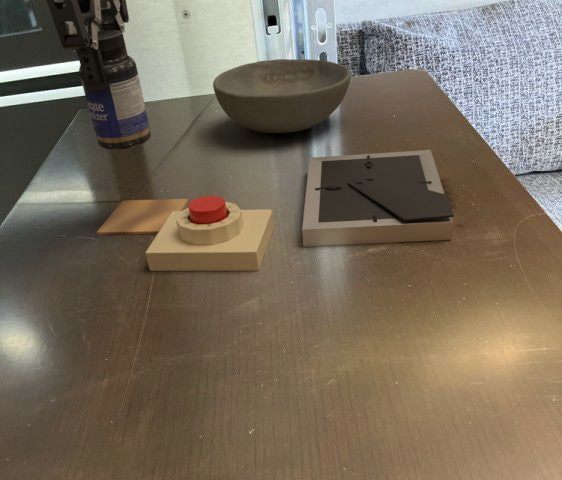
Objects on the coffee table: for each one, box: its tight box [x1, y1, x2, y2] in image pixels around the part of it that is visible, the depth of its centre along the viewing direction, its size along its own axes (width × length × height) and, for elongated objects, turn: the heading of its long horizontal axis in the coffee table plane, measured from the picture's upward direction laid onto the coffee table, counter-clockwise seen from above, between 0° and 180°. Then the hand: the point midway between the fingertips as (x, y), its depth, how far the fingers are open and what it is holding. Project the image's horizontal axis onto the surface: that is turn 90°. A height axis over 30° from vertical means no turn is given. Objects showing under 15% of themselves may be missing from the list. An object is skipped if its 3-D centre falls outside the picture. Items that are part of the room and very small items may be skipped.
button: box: [187, 195, 228, 225], centre depth 67 cm, size 4×4×2 cm
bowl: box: [212, 58, 352, 134], centre depth 97 cm, size 21×21×8 cm
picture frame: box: [301, 149, 455, 248], centre depth 74 cm, size 16×3×21 cm
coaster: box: [96, 198, 190, 236], centre depth 77 cm, size 9×9×1 cm
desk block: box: [144, 201, 275, 272], centre depth 68 cm, size 12×10×4 cm
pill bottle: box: [78, 30, 152, 150], centre depth 68 cm, size 6×6×11 cm
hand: (110, 79), depth 67 cm, fingers closed on pill bottle, 6 cm apart
